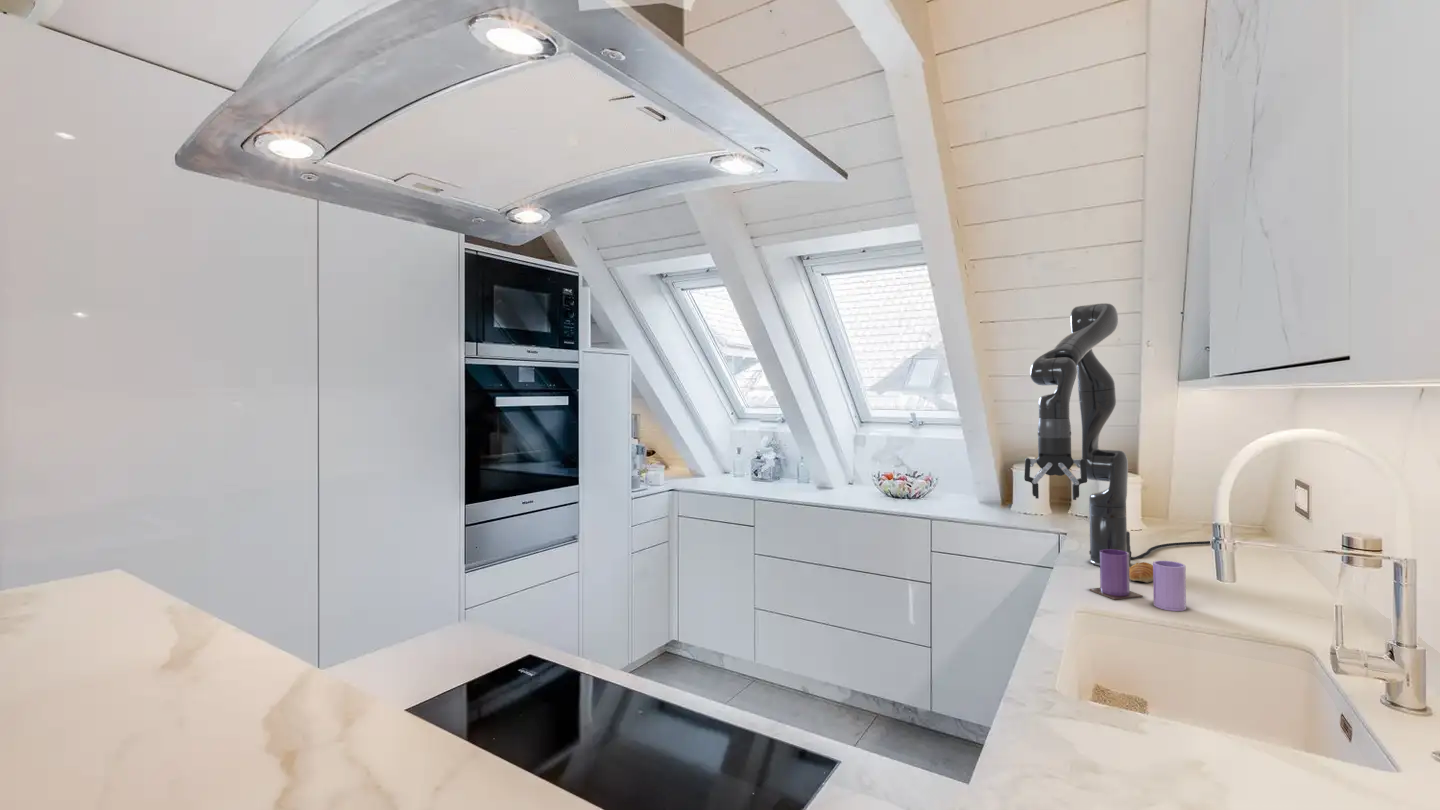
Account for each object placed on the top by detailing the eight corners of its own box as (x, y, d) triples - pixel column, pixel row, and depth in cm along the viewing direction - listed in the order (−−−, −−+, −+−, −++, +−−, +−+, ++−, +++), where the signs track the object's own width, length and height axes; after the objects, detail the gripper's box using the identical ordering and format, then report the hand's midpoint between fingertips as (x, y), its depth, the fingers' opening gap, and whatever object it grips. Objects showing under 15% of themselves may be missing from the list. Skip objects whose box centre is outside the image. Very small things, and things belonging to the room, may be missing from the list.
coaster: (1116, 587, 166) (1116, 586, 166) (1142, 597, 158) (1142, 595, 158) (1089, 590, 165) (1089, 588, 165) (1114, 599, 157) (1114, 598, 157)
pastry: (1154, 585, 167) (1153, 571, 167) (1123, 581, 171) (1123, 567, 171) (1159, 577, 174) (1159, 563, 174) (1130, 573, 179) (1129, 559, 179)
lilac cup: (1169, 601, 155) (1168, 559, 155) (1192, 609, 149) (1192, 566, 149) (1147, 603, 154) (1146, 561, 153) (1170, 612, 147) (1169, 568, 147)
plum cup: (1115, 587, 165) (1115, 548, 165) (1135, 594, 159) (1135, 554, 159) (1094, 589, 164) (1094, 550, 164) (1114, 596, 158) (1113, 555, 158)
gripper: (1084, 434, 167) (1085, 497, 167) (1023, 434, 173) (1024, 495, 173) (1087, 436, 160) (1088, 502, 160) (1023, 436, 166) (1024, 500, 166)
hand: (1055, 498), depth 167 cm, fingers open, 8 cm apart
